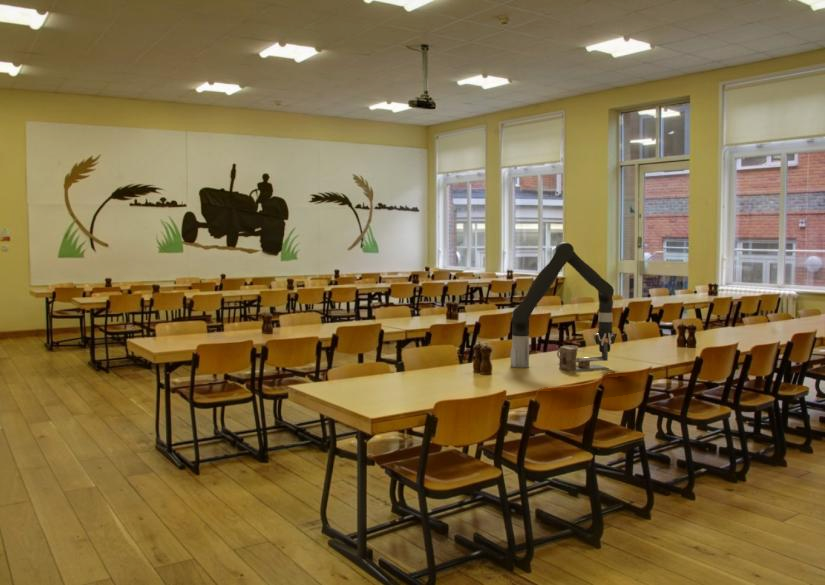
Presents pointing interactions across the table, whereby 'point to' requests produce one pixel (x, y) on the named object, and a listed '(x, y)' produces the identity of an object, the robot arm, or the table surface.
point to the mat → (592, 367)
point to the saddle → (584, 364)
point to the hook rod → (601, 358)
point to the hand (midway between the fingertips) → (604, 351)
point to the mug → (568, 346)
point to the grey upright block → (567, 358)
